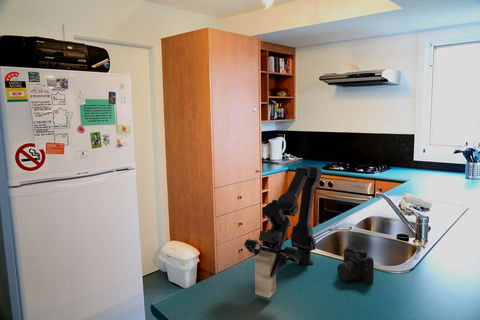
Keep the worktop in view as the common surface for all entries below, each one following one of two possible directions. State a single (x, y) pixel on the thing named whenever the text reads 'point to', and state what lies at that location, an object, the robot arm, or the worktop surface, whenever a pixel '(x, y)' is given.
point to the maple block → (264, 274)
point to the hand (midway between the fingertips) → (263, 274)
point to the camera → (356, 266)
